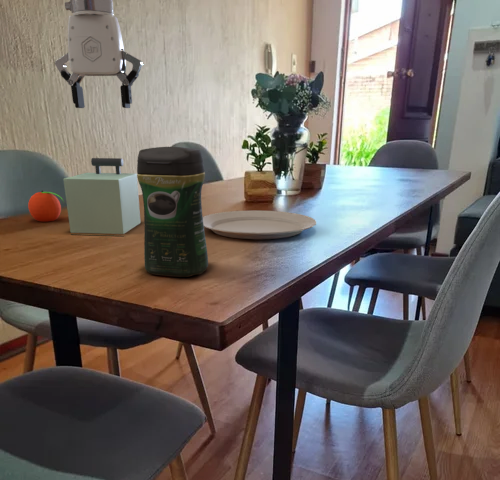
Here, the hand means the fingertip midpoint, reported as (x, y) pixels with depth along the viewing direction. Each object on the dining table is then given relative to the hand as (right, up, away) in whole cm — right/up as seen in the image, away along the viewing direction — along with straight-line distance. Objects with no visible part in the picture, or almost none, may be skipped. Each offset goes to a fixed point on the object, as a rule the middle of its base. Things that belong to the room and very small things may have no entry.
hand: (103, 107), depth 103 cm
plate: (+31, -23, +8) cm, 40 cm away
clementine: (-16, -20, +14) cm, 30 cm away
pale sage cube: (-2, -19, -1) cm, 19 cm away
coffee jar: (+18, -36, -22) cm, 46 cm away
